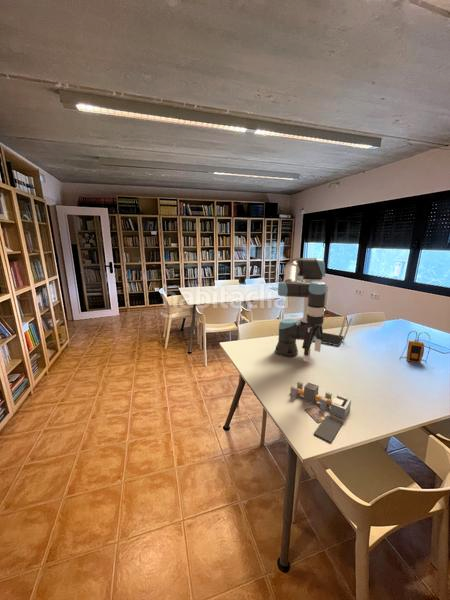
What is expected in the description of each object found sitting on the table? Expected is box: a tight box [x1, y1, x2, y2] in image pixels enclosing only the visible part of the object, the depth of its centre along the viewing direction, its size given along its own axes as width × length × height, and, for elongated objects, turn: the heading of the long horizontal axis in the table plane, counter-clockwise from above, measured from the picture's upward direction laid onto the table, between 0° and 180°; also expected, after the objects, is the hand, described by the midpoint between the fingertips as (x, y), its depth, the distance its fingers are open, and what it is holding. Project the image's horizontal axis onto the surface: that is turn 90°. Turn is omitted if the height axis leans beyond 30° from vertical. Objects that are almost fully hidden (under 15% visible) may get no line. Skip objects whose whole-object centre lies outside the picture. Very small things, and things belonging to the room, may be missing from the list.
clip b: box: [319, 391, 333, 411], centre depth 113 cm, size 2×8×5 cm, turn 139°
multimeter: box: [399, 330, 431, 364], centre depth 158 cm, size 15×10×20 cm
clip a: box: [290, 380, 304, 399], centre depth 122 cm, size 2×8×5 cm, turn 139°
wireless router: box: [321, 314, 353, 346], centre depth 193 cm, size 34×23×20 cm
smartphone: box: [313, 414, 344, 444], centre depth 99 cm, size 7×1×15 cm
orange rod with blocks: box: [289, 382, 344, 407], centre depth 116 cm, size 24×5×7 cm, turn 50°
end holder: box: [329, 394, 352, 420], centre depth 109 cm, size 6×9×5 cm, turn 139°
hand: (312, 355), depth 121 cm, fingers open, 13 cm apart
